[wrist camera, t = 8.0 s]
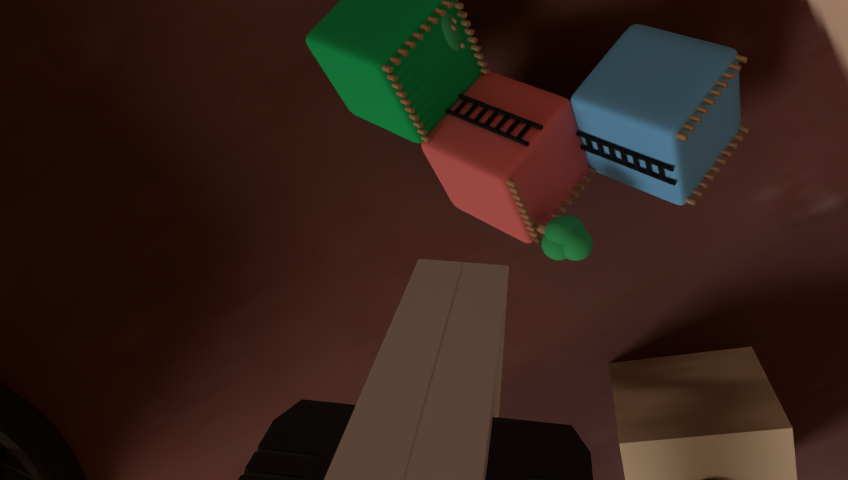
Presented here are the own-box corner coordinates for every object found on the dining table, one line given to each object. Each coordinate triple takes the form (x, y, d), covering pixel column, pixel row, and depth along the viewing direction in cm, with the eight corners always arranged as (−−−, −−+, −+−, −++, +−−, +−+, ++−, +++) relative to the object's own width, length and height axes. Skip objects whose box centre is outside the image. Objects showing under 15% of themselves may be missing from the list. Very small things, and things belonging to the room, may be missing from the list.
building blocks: (498, 49, 33) (752, 130, 26) (384, 179, 32) (623, 305, 24) (440, -107, 27) (748, -56, 20) (294, 43, 26) (577, 158, 18)
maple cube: (627, 472, 35) (641, 573, 29) (608, 362, 33) (619, 446, 27) (762, 461, 33) (805, 565, 28) (751, 345, 32) (794, 431, 26)
